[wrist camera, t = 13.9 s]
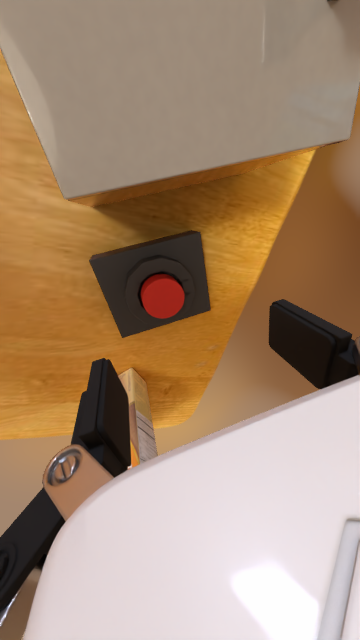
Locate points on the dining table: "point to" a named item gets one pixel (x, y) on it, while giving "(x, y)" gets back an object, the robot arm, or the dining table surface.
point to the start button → (162, 296)
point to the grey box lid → (179, 83)
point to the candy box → (139, 418)
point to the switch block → (140, 264)
